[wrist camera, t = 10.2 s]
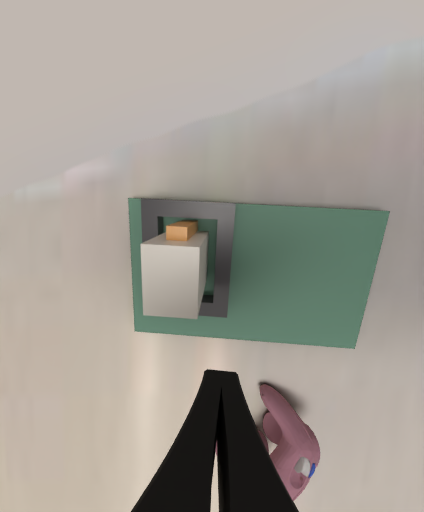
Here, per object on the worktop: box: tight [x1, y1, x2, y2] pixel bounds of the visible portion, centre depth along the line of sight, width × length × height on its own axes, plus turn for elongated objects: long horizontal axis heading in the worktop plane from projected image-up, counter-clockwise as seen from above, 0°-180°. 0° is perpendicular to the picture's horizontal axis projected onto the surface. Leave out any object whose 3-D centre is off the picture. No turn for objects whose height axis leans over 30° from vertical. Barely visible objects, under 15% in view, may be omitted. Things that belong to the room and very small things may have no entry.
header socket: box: [141, 198, 236, 318], centre depth 16 cm, size 7×9×2 cm
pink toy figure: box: [215, 384, 320, 501], centre depth 20 cm, size 10×5×7 cm, turn 147°
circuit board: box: [128, 198, 390, 349], centre depth 18 cm, size 20×12×1 cm, turn 87°
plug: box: [140, 220, 209, 319], centre depth 14 cm, size 3×5×6 cm, turn 177°
